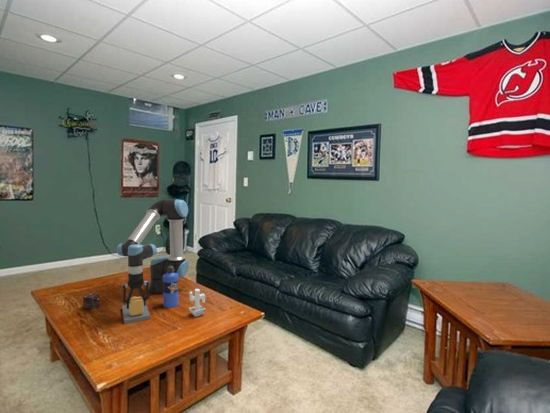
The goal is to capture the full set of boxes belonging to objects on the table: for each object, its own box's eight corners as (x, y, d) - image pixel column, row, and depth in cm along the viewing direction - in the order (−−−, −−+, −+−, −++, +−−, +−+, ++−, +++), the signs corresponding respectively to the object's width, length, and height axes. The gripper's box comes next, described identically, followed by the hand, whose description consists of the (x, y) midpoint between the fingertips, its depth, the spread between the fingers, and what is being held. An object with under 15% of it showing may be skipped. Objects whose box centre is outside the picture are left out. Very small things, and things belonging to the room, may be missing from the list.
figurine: (207, 314, 178) (207, 289, 176) (192, 318, 172) (192, 293, 170) (202, 310, 183) (202, 286, 182) (187, 314, 177) (187, 289, 176)
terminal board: (145, 304, 189) (145, 292, 189) (150, 319, 170) (149, 305, 170) (122, 308, 183) (121, 295, 182) (124, 323, 164) (123, 309, 163)
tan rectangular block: (141, 309, 176) (141, 296, 175) (142, 313, 171) (142, 300, 170) (130, 311, 173) (129, 298, 172) (131, 316, 168) (130, 301, 167)
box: (91, 309, 181) (91, 297, 180) (83, 308, 182) (82, 296, 181) (99, 305, 187) (99, 294, 186) (91, 304, 188) (90, 293, 187)
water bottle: (181, 304, 190) (181, 265, 188) (167, 309, 184) (167, 268, 182) (173, 300, 197) (173, 262, 195) (160, 304, 190) (159, 265, 188)
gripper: (152, 268, 178) (153, 307, 180) (116, 272, 168) (117, 313, 170) (154, 272, 171) (155, 311, 173) (116, 276, 162) (117, 318, 164)
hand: (136, 312), depth 172 cm, fingers closed on tan rectangular block, 6 cm apart
